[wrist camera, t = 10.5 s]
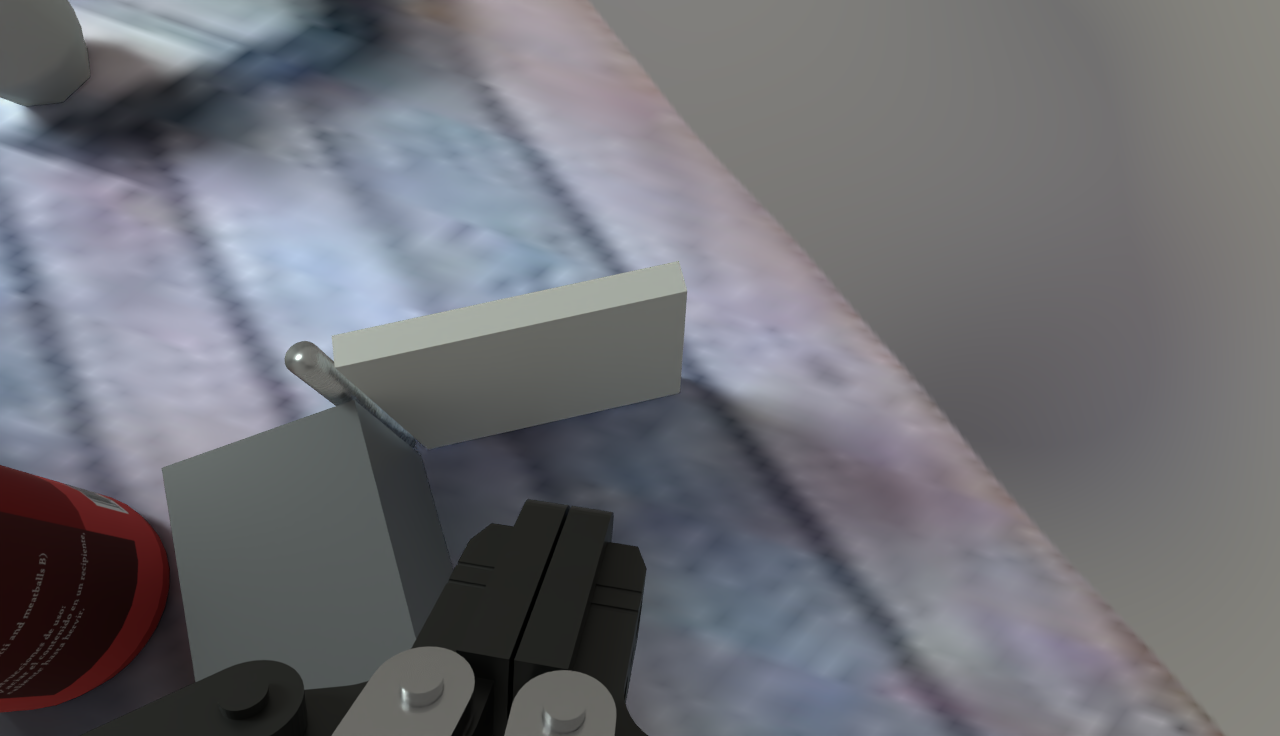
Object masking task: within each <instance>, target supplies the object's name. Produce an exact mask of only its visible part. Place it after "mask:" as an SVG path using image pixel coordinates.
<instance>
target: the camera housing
mask: <svg viewBox="0 0 1280 736" xmlns="http://www.w3.org/2000/svg"><path fill="white" fill-rule="evenodd" d="M285 365H286V367H287V368H288V370H290V371H291V372H292V373H293V374H295V375H296V376H297V377H299V378H300V379H301V380H303V381H304V382H305V383H307V384H308V385H309V386H311V387H312V388H313V389H314V390H316V391H317V392H318V393H320V394H321V395H322V396H324V397H325V398H326V399H328V400H329V401H330V402H331V403H333V404H334V405H335V406H336V407H333V408H330V409H327V410H324V411H321V412H319V413H316V414H313V415H310V416H307V417H305V418H302V419H299V420H296V421H293V422H290V423H288V424H285V425H282V426H279V427H276V428H274V429H271V430H268V431H265V432H262V433H259V434H257V435H254V436H251V437H248V438H245V439H242V440H240V441H237V442H234V443H231V444H228V445H226V446H223V447H220V448H217V449H214V450H211V451H209V452H206V453H203V454H200V455H197V456H195V457H192V458H189V459H186V460H183V461H180V462H178V463H175V464H172V465H169V466H166V467H163V468H162V473H163V479H164V486H165V492H166V498H167V505H168V511H169V517H170V524H171V530H172V536H173V543H174V549H175V555H176V562H177V568H178V574H179V581H180V587H181V593H182V600H183V606H184V612H185V619H186V625H187V631H188V638H189V644H190V650H191V657H192V663H193V669H194V676H195V682H197V681H200V680H202V679H204V678H206V677H208V676H211V675H213V674H215V673H217V672H219V671H221V670H224V669H226V668H228V667H231V666H233V665H236V664H240V663H243V662H248V661H254V660H273V661H278V662H282V663H284V664H287V665H289V666H290V667H292V668H293V669H295V670H296V671H297V672H298V673H299V675H300V676H301V678H302V680H303V685H304V690H307V689H318V688H328V687H338V686H348V685H354V684H359V683H362V682H366V681H369V680H370V678H371V677H372V676H373V674H374V673H375V672H376V670H377V669H378V668H379V667H380V666H381V665H382V664H383V663H384V662H385V661H387V660H388V659H390V658H391V657H393V656H395V655H397V654H399V653H401V652H403V651H406V650H409V649H411V648H412V646H413V644H414V642H415V640H416V639H417V637H418V635H419V633H420V631H421V629H422V628H423V626H424V624H425V622H426V620H427V618H428V616H429V615H430V613H431V611H432V609H433V607H434V605H435V604H436V602H437V600H438V598H439V596H440V594H441V592H442V591H443V589H444V587H445V585H446V583H448V582H449V578H450V576H451V574H452V572H453V568H452V565H451V561H450V558H449V554H448V550H447V547H446V543H445V540H444V536H443V533H442V529H441V526H440V522H439V519H438V515H437V512H436V508H435V505H434V501H433V498H432V494H431V490H430V487H429V483H428V480H427V476H426V473H425V469H424V466H423V462H422V459H421V455H420V454H419V453H418V452H416V451H415V450H414V449H413V447H414V445H415V441H416V439H415V438H414V437H413V436H412V435H411V434H410V433H408V432H407V431H406V430H405V429H404V428H403V427H402V426H400V425H399V424H398V423H397V422H396V421H395V420H394V419H393V418H391V417H390V416H389V415H388V414H387V413H386V412H385V411H383V410H382V409H381V408H380V407H379V406H378V405H377V404H375V403H374V402H373V401H372V400H371V399H370V398H369V397H367V396H366V395H365V394H364V393H363V392H362V391H361V390H359V389H358V388H357V387H356V386H355V385H354V384H353V383H351V382H350V381H349V380H348V379H347V378H346V377H345V376H344V375H342V374H341V373H340V372H339V371H338V370H337V369H336V368H335V365H334V361H333V360H331V359H330V358H329V357H328V356H327V355H326V354H325V353H324V352H323V351H321V350H320V349H319V348H318V347H317V346H316V345H315V344H313V343H311V342H308V341H302V342H298V343H296V344H294V345H293V346H291V347H290V348H289V350H288V351H287V353H286V355H285Z"/></svg>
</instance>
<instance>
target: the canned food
mask: <svg viewBox="0 0 1280 736" xmlns="http://www.w3.org/2000/svg"><path fill="white" fill-rule="evenodd" d="M169 571H170V570H169V564H168V559H167V554H166V551H165V548H164V546H163V544H162V542H161V539H160V537H159V536H158V535H157V533H156V532H155V531H154V529H153V528H152V527H151V526H150V524H149V523H148V522H147V521H146V520H145V519H144V518H143V517H142V516H141V515H139V514H138V513H137V512H136V511H134V510H133V509H132V508H130V507H129V506H128V505H126V504H124V503H122V502H120V501H117V500H115V499H113V498H111V497H107V496H104V495H101V494H97V493H94V492H90V491H87V490H84V489H80V488H77V487H73V486H70V485H66V484H63V483H60V482H56V481H53V480H49V479H46V478H43V477H39V476H36V475H32V474H29V473H25V472H22V471H19V470H15V469H12V468H8V467H5V466H1V465H0V713H1V712H12V711H22V710H33V709H39V708H44V707H49V706H54V705H58V704H61V703H63V702H66V701H68V700H71V699H73V698H76V697H79V696H81V695H83V694H85V693H87V692H89V691H90V690H92V689H94V688H96V687H98V686H99V685H101V684H103V683H104V682H106V681H108V680H109V679H111V678H113V677H114V676H115V675H116V674H117V673H119V672H120V671H121V670H122V669H123V668H125V667H126V666H127V665H128V664H129V663H130V662H131V661H132V660H133V659H134V658H135V657H136V656H137V655H138V653H139V652H140V651H141V650H142V649H143V648H144V647H145V645H146V644H147V642H148V640H149V639H150V637H151V636H152V634H153V632H154V631H155V629H156V628H157V625H158V623H159V621H160V618H161V616H162V613H163V611H164V609H165V605H166V600H167V596H168V591H169Z"/></svg>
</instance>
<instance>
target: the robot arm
mask: <svg viewBox="0 0 1280 736" xmlns="http://www.w3.org/2000/svg"><path fill="white" fill-rule="evenodd" d="M613 517H614V515H613V512H607V511H601V510H595V509H588V508H582V507H576V506H572V507H571V508H570V506H569V505H562V504H556V503H550V502H544V501H537V500H531V499H527V500H526V502H525V504H524V506H523V508H522V510H521V512H520V514H519V516H518V519H517V521H516V523H515V525H514V527H512V526H506V525H500V524H494V523H492V524H490V525H489V526H488V527H486V528H485V529H484V530H482V531H481V532H480V533H478V534H477V535H476V536H474V537H473V538H472V539H470V541H469V543H468V544H467V546H466V548H465V550H464V552H463V554H462V556H461V557H460V559H459V561H458V566H457V565H456V567H455V568H454V570H453V572H452V574H451V576H450V578H449V582H448V583H446V585H445V587H444V589H443V591H442V592H441V594H440V596H439V598H438V600H437V602H436V604H435V605H434V607H433V609H432V611H431V613H430V615H429V616H428V618H427V620H426V622H425V624H424V626H423V628H422V629H421V631H420V633H419V635H418V637H417V639H416V640H415V642H414V644H413V646H412V648H411V649H409V650H406V651H403V652H401V653H399V654H397V655H395V656H393V657H391V658H390V659H388V660H387V661H385V662H384V663H383V664H382V665H381V666H380V667H379V668H378V669H377V670H376V672H375V673H374V674H373V676H372V677H371V678H370V680H369V681H366V682H362V683H359V684H354V685H348V686H338V687H328V688H318V689H307V690H304V685H303V680H302V678H301V676H300V675H299V673H298V672H297V671H296V670H295V669H293V668H292V667H290V666H289V665H287V664H284V663H282V662H278V661H273V660H254V661H248V662H243V663H240V664H236V665H233V666H231V667H228V668H226V669H224V670H221V671H219V672H217V673H215V674H213V675H211V676H208V677H206V678H204V679H202V680H200V681H197V682H195V683H193V684H191V685H189V686H187V687H184V688H182V689H180V690H178V691H176V692H174V693H171V694H169V695H167V696H165V697H163V698H161V699H158V700H156V701H154V702H152V703H150V704H148V705H145V706H143V707H141V708H139V709H137V710H134V711H132V712H130V713H128V714H126V715H124V716H121V717H119V718H117V719H115V720H113V721H111V722H108V723H106V724H104V725H102V726H100V727H98V728H95V729H93V730H91V731H89V732H87V733H85V734H82V735H80V736H648V735H647V734H645V733H644V732H643V731H642V730H641V729H640V728H639V727H638V726H637V725H636V724H635V722H634V721H633V719H632V718H631V716H630V714H629V712H628V710H627V707H626V698H627V693H628V687H629V682H630V676H631V671H632V665H633V660H634V654H635V649H636V643H637V638H638V630H639V623H640V615H641V607H642V599H643V592H644V584H645V576H646V566H645V564H644V561H643V559H642V556H641V553H640V551H639V548H638V547H636V546H630V545H624V544H618V543H611V539H612V529H613Z"/></svg>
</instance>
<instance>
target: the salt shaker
mask: <svg viewBox="0 0 1280 736" xmlns="http://www.w3.org/2000/svg"><path fill="white" fill-rule="evenodd" d="M89 77H90V68H89V59H88V50H87V47H86V44H85V41H84V38H83V33H82V28H81V26H80V23H79V21H78V19H77V16H76V14H75V12H74V9H73V8H72V6H71V5H70V3H69V2H68V0H0V97H1V98H3V99H6V100H9V101H12V102H14V103H17V104H20V105H23V106H34V105H43V104H52V103H62V102H64V101H65V100H66V99H67V98H68V97H69V96H70V95H71V94H72V93H73V92H74V91H76V90H77V89H78V88H79V87H80V86H81V85H82V84H83V83H84V82H85V81H86V80H87V79H88V78H89Z"/></svg>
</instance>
